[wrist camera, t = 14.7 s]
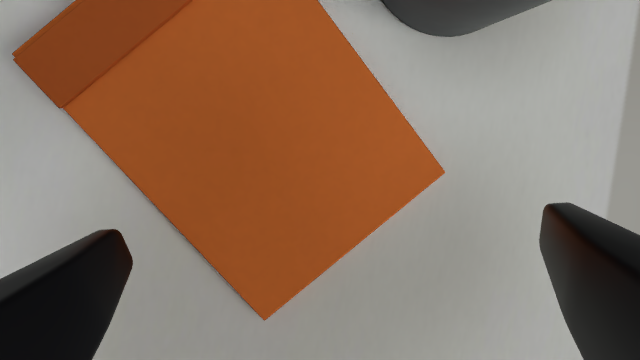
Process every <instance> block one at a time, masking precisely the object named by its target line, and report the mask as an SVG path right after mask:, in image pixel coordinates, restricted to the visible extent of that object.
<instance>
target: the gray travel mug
mask: <svg viewBox="0 0 640 360" xmlns="http://www.w3.org/2000/svg"><path fill="white" fill-rule="evenodd" d="M549 1H551V0H383V2H384V3H385V5H386V6H387V7H388V8H389V9H390V11H391V12H392V13H393V14H394V15H395V16H396V17H398V18H399V19H400V20H401V21H402V22H404V23H405V24H407V25H408V26H410V27H412V28H414V29H416V30H418V31H420V32H423V33H426V34H430V35H435V36H445V37H452V36H460V35H465V34H468V33H472V32H474V31H477V30H479V29H482V28H484V27H487V26H489V25H492V24H494V23H497V22H499V21H502V20H504V19H506V18H509V17H511V16H514V15H516V14H519V13H521V12H524V11H526V10H529V9H531V8H534V7H536V6H539V5H541V4H544V3H546V2H549Z"/></svg>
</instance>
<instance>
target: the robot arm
mask: <svg viewBox="0 0 640 360" xmlns="http://www.w3.org/2000/svg"><path fill="white" fill-rule="evenodd" d="M539 243H540V250H541V253H542V256H543V259H544V262H545V265H546V268H547V270H548V273H549V276H550V279H551V282H552V285H553V288H554V291H555V294H556V297H557V299H558V302H559V305H560V308H561V311H562V314H563V316H564V319H565V321H566V324H567V326H568V328H569V330H570V332H571V334H572V337H573V339H574V341H575V343H576V345H577V347H578V349H579V351H580V353H581V355H582V357H583V359H584V360H640V235H638V234H636V233H634V232H631V231H630V230H627V229H625V228H623V227H621V226H619V225H617V224H614V223H612V222H610V221H608V220H606V219H604V218H602V217H599V216H597V215H595V214H593V213H591V212H589V211H587V210H584V209H582V208H580V207H578V206H576V205H574V204H571V203H552V204H547V205H546V206H545V208H544V210H543V216H542V223H541V231H540V239H539ZM132 265H133V260H132V256H131V254H130V252H129V249H128V247H127V245H126V243H125V241H124V238H123V236H122V234H121V233H120V232H119V231H118V230H116V229H109V230H99V231H96V232H94V233H92V234H90V235H88V236H86V237H84V238H82V239H80V240H78V241H76V242H74V243H72V244H70V245H68V246H66V247H64V248H62V249H60V250H58V251H56V252H54V253H52V254H50V255H48V256H46V257H44V258H42V259H40V260H38V261H36V262H34V263H32V264H30V265H28V266H26V267H24V268H22V269H20V270H18V271H16V272H14V273H11V274H9V275H7V276H5V277H3V278H1V279H0V360H92V359H93V357H94V355H95V353H96V351H97V349H98V347H99V345H100V343H101V341H102V339H103V337H104V335H105V333H106V331H107V329H108V327H109V324H110V322H111V320H112V317H113V315H114V312H115V310H116V307H117V305H118V302H119V300H120V297H121V295H122V292H123V290H124V287H125V285H126V282H127V280H128V277H129V275H130V272H131V270H132Z"/></svg>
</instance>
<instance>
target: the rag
mask: <svg viewBox="0 0 640 360" xmlns="http://www.w3.org/2000/svg"><path fill="white" fill-rule="evenodd" d="M12 55H13V56H14V57H15V58H14V59H13V60H14V61H15V62H16V63H17V64H18V66H19V67H20V68H21V69H22V70H23V71H24V72H25V73H26V74H27V75H28V76H29V77H30V78H31V79H32V80H33V81H34V82H35V83H36V84H37V86H38V87H39V88H40V89H41V90H42V91H43V92H44V93H45V94H46V95H47V96H48V97H49V98H50V99H51V100H52V101H53V102H54V103H55V105H56V106H57V107H58V108H63V109H64V110H65V111H66V112H67V113H68V114H69V115H70V116H71V117H72V118H73V119H74V120H75V121H76V122H77V123H78V124H79V125H80V127H81V128H82V129H83V130H84V131H85V132H86V133H87V134H88V135H89V136H90V137H91V138H92V139H93V140H94V141H95V142H96V143H97V144H98V146H99V147H100V148H101V149H102V150H103V151H104V152H105V153H106V154H107V155H108V156H109V157H110V158H111V159H112V160H113V161H114V162H115V163H116V165H117V166H118V167H119V168H120V169H121V170H122V171H123V172H124V173H125V174H126V175H127V176H128V177H129V178H130V179H131V180H132V181H133V183H134V184H135V185H136V186H137V187H138V188H139V189H140V190H141V191H142V192H143V193H144V194H145V195H146V196H147V197H148V198H149V199H150V200H151V202H152V203H153V204H154V205H155V206H156V207H157V208H158V209H159V210H160V211H161V212H162V213H163V214H164V215H165V216H166V217H167V218H168V219H169V221H170V222H171V223H172V224H173V225H174V226H175V227H176V228H177V229H178V230H179V231H180V232H181V233H182V234H183V235H184V236H185V237H186V238H187V240H188V241H189V242H190V243H191V244H192V245H193V246H194V247H195V248H196V249H197V250H198V251H199V252H200V253H201V254H202V255H203V256H204V257H205V259H206V260H207V261H208V262H209V263H210V264H211V265H212V266H213V267H214V268H215V269H216V270H217V271H218V272H219V273H220V274H221V275H222V277H223V278H224V279H225V280H226V281H227V282H228V283H229V284H230V285H231V286H232V287H233V288H234V289H235V290H236V291H237V292H238V293H239V294H240V296H241V297H242V298H243V299H244V300H245V301H246V302H247V303H248V304H249V305H250V306H251V307H252V308H253V309H254V310H255V311H256V312H257V313H258V315H259V316H260V317H261V318H262V319H263V320H266V319H267V318H268V317H270V316H271V315H272V314H273V313H274V312H276V311H277V310H278V309H279V308H281V307H282V306H283V305H284V304H285V303H287V302H288V301H289V300H290V299H291V298H293V297H294V296H295V295H296V294H298V293H299V292H300V291H301V290H302V289H304V288H305V287H306V286H307V285H309V284H310V283H311V282H312V281H313V280H315V279H316V278H317V277H318V276H320V275H321V274H322V273H323V272H324V271H326V270H327V269H328V268H329V267H331V266H332V265H333V264H334V263H335V262H337V261H338V260H339V259H340V258H341V257H343V256H344V255H345V254H346V253H348V252H349V251H350V250H351V249H352V248H354V247H355V246H356V245H357V244H359V243H360V242H361V241H362V240H363V239H365V238H366V237H367V236H368V235H370V234H371V233H372V232H373V231H374V230H376V229H377V228H378V227H379V226H381V225H382V224H383V223H384V222H385V221H387V220H388V219H389V218H390V217H392V216H393V215H394V214H395V213H396V212H398V211H399V210H400V209H401V208H402V207H404V206H405V205H406V204H407V203H409V202H410V201H411V200H412V199H413V198H415V197H416V196H417V195H418V194H420V193H421V192H422V191H423V190H424V189H426V188H427V187H428V186H429V185H431V184H432V183H433V182H434V181H435V180H437V179H438V178H439V177H440V176H442V175H443V174H444V173H445V171H444V170H443V168H442V167H441V166H440V164H439V163H438V162H437V160H436V159H435V158H434V156H433V155H432V154H431V152H430V151H429V150H428V148H427V147H426V146H425V144H424V143H423V142H422V140H421V139H420V137H419V136H418V135H417V133H416V132H415V131H414V129H413V128H412V127H411V125H410V124H409V123H408V121H407V120H406V119H405V117H404V116H403V115H402V113H401V112H400V111H399V109H398V108H397V107H396V105H395V104H394V102H393V101H392V100H391V98H390V97H389V96H388V94H387V93H386V92H385V90H384V89H383V88H382V86H381V85H380V84H379V82H378V81H377V80H376V78H375V77H374V76H373V74H372V73H371V72H370V70H369V69H368V68H367V66H366V65H365V63H364V62H363V61H362V59H361V58H360V57H359V55H358V54H357V53H356V51H355V50H354V49H353V47H352V46H351V45H350V43H349V42H348V41H347V39H346V38H345V37H344V35H343V34H342V33H341V31H340V30H339V28H338V27H337V26H336V24H335V23H334V22H333V20H332V19H331V18H330V16H329V15H328V14H327V12H326V11H325V10H324V8H323V7H322V6H321V4H320V3H319V2H318V0H76V1H74V2H73V3H72V4H71V5H70V6H68V7H67V8H66V9H65V10H64V11H62V12H61V13H60V14H59V15H58V16H56V17H55V18H54V19H53V20H52V21H50V22H49V23H48V24H47V25H46V26H44V27H43V28H42V29H41V30H40V31H39V32H37V33H36V34H35V35H34V36H33V37H31V38H30V39H29V40H28V41H27V42H25V43H24V44H23V45H22V46H21V47H19V48H18V49H17V50H16V51H15V52H13V53H12Z"/></svg>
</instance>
